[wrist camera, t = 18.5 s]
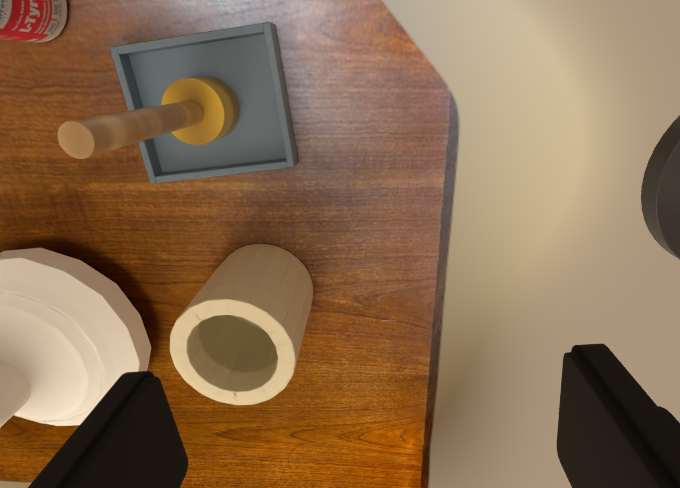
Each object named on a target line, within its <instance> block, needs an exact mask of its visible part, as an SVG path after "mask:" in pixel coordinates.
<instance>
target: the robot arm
mask: <svg viewBox="0 0 680 488" xmlns="http://www.w3.org/2000/svg"><path fill="white" fill-rule="evenodd" d="M557 452H558V457H559V460H560V463H561V465H562V467H563V469H564V471H565V473H566V476H567V478H568V480H569V482H570V484H571V486H572V488H680V423H679V422H678V421H677V420H676V419H675V417H674V416H673V415H672V414H671V413H670V412H669V411H667V410H666V409H664V408H662V407H660V406H659V407H658V406H657V405H656V404H655V403H654V402H653V400H652V399H651V398H650V397H649V396H648V395H647V393H646V392H645V391H644V390H643V389H642V387H641V386H640V385H639V384H638V383H637V382H636V380H635V379H634V378H633V377H632V376H631V374H630V373H629V372H628V371H627V370H626V368H625V367H624V366H623V365H622V364H621V362H620V361H619V360H618V359H617V358H616V357H615V355H614V354H613V353H612V352H611V351H610V349H609V348H608V347H607V346H606V345H604V344H588V345H575V346H573V348H572V351H571V352H570V353H565V354H564V357H563V370H562V382H561V395H560V408H559V421H558V435H557ZM187 468H188V458H187V455H186V452H185V449H184V446H183V443H182V441H181V438H180V435H179V432H178V429H177V426H176V424H175V421H174V418H173V415H172V412H171V409H170V407H169V404H168V401H167V398H166V395H165V392H164V389H163V387H162V384H161V381H160V379H159V378H158V377H154V375H153V373H151V372H150V371H139V372H126V373H124V374H122V375H121V376H120V377H119V379H118V380H117V381H116V382H115V383H114V385H113V386H112V387H111V388H110V389H109V391H108V392H107V393H106V394H105V395H104V397H103V398H102V399H101V400H100V402H99V403H98V404H97V405H96V406H95V408H94V409H93V410H92V411H91V412H90V414H89V415H88V416H87V417H86V418H85V420H84V421H83V422H82V423H81V424H80V426H79V427H78V428H77V429H76V430H75V432H74V433H73V434H72V435H71V436H70V438H69V439H68V440H67V441H66V442H65V444H64V445H63V446H62V447H61V449H60V450H59V451H58V452H57V453H56V455H55V456H54V457H53V458H52V459H51V461H50V462H49V463H48V464H47V465H46V467H45V468H44V469H43V470H42V471H41V473H40V474H39V475H38V476H37V477H36V479H35V480H34V481H33V482H32V483H31V485H30V486H29V487H28V488H180V486H181V484H182V482H183V479H184V477H185V475H186V472H187Z"/></svg>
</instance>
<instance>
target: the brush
mask: <svg viewBox="0 0 680 488" xmlns="http://www.w3.org/2000/svg"><path fill="white" fill-rule="evenodd" d="M238 119H239V104H238V100H237V98H236V96H235V94H234V92H233V91H232V89H231V88H230V87H229V86H228V85H227V84H226V83H224V82H223V81H221V80H219V79H216V78H212V77H197V78H183V79H179V80H177V81H175V82H173V83H172V84H171V85H170V86H169V87H168V88H167V89H166V91H165V93H164V95H163V98H162V103H161V105H159V106H153V107H147V108H141V109H134V110H128V111H122V112H116V113H110V114H104V115H98V116H92V117H86V118H80V119H74V120H68V121H65V122H64V123H62V124H61V126H60V127H59V129H58V141H59V144H60V146H61V147H62V149H63V150H64V151H65V152H66V153H67V154H68V155H70V156H72V157H74V158H78V159H85V158H88V157H92V156H95V155H98V154H101V153H105V152H108V151H111V150H114V149H118V148H121V147H124V146H128V145H131V144H134V143H137V142H141V141H144V140H147V139H150V138H154V137H157V136H160V135H163V134H167V133H170V132H171V133H172V134H173V135H174V136H175V137H176V138H178V139H179V140H181V141H183V142H185V143H187V144H191V145H204V144H207V143H210V142H212V141H214V140H216V139H219V138H221V137H223V136H225V135H227V134H229V133H230V132H231V131H232V130H233V129H234V128H235V126H236V124H237V122H238Z"/></svg>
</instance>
